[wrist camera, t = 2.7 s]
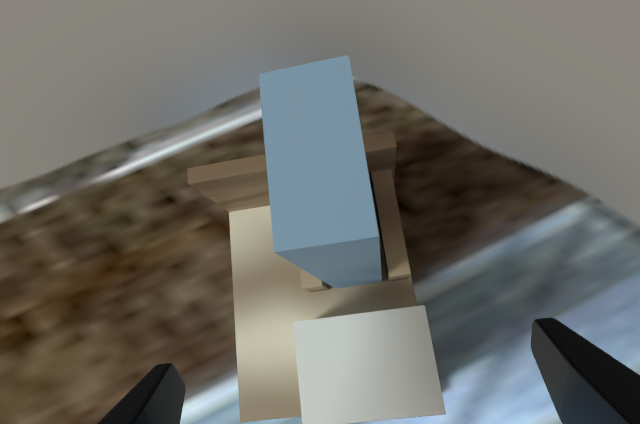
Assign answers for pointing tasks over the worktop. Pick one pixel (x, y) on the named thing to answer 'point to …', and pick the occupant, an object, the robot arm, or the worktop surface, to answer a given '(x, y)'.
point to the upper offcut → (367, 367)
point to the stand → (294, 276)
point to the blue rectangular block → (319, 173)
